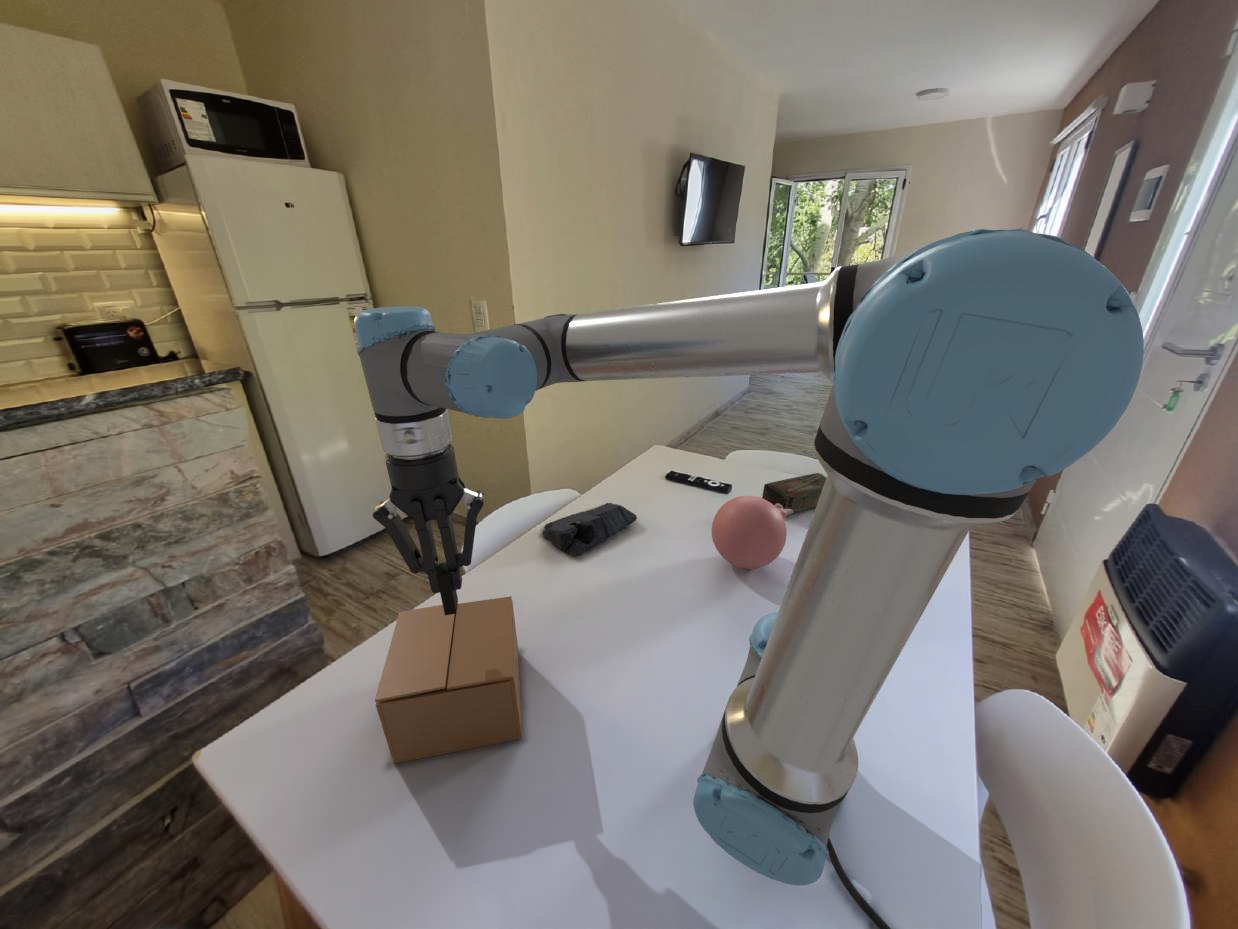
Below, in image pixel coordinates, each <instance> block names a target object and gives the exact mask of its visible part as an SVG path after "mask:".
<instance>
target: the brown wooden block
mask: <svg viewBox="0 0 1238 929" xmlns="http://www.w3.org/2000/svg"><path fill="white" fill-rule="evenodd" d="M826 478H827V476H825V475H824V474H823V473H820V472H815V473H810V474H805V475H800V476H795V477H789V478H786V479H780V480H776V481H772V482H768V483H764V486H763V489H762V495H761V498H762V499H765V500H767V501H768V502H770V503H771V504H773V505H774V506H775V504H777V503H779V504H780V505H782V507H783V509H792V510H793V513H792V514H794V513H797V512H802V511H805V510H810V509H815V508H816V506H817V503H818V501H819V498H820V495H821V492H822V490H823V487H824V484H825V481H826Z"/></svg>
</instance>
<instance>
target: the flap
mask: <svg viewBox="0 0 1238 929" xmlns="http://www.w3.org/2000/svg"><path fill="white" fill-rule="evenodd" d="M454 617H455V614H451V615H445V613H444V609H443V604H439V605H432V606H427V607H421V608H414V609H408V610H402V611H399V612H398V615H397V619H396V623H395V626H394V630H393V633H392V637H391V641H390V644H389V648H388V651H387V654H386V659H385V662H384V666H383V670H382V673H381V676H380V680H379V683H378V687H377V692H376V695H375V697H374V702H375V703H376V702H380V701H385V700H390V699H395V698H400V697H405V696H410V695H415V694H420V693H425V692H430V691H435V690H440V689H445V687H446V679H447V671H448V664H449V656H450V648H451V640H452V632H453V625H454Z"/></svg>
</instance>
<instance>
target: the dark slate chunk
mask: <svg viewBox="0 0 1238 929" xmlns="http://www.w3.org/2000/svg"><path fill="white" fill-rule="evenodd" d="M637 519H638V516H637V514H635V513H634V512H632V511H631V510H630V509H627V508H626V507H625V506H623V505H621V504H617V503H612V502H606V503H604V504H602V505H599V506H598V507H597V506H596V507H595V508H591V509H588V510H585V511H580V512H577V513H573V514H570V515H566V516H564V517H560V518H558V519H556V520H554V521H550V522H548V523H546V524H545V525H544V527H543V529H544V530H542V532H541V533H542V536H543V538H544V539H545V540H548V541H549V542H550V543H551V544H552V545H553V547H555V548H556V549H558V550H559V551H562V552H567V554H570V555H572V556H573V557H575V556H576V557H579V556H581V555H583V553H585V552H587V551H588V550H591V549H593V548H595V547H598V545H601V544H603V543H605V542H606V541H607V540H608V539H609V538H611V537H613V536H615V535H617V534H618V533H619V532H621V531H623V530H624V529H626V528H627V527H628V526H630V525H631V524H633V523H635V522H636V521H637ZM575 539H579V540H580V541H581V542H583V543H586V544H580V543H579V542H578V541H576V540H575Z"/></svg>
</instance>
